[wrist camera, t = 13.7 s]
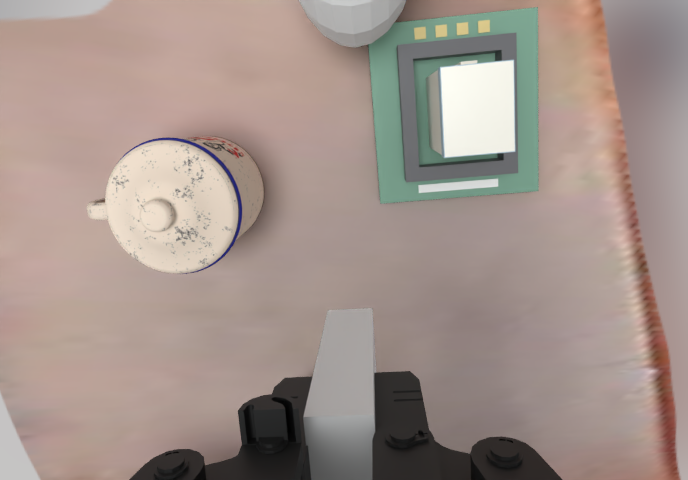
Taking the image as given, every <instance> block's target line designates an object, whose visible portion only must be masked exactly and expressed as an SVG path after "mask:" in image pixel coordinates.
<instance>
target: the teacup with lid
mask: <svg viewBox="0 0 688 480" xmlns="http://www.w3.org/2000/svg"><path fill="white" fill-rule="evenodd" d="M263 198H264V187H263V181H262V177H261V174H260V172H259V169H258V167H257V165H256V164H255V162H254V161H253V159H252V158H251V157H250V156H249V154H248V153H247V152H246V151H244V150H243V149H242V148H241V147H239V146H238V145H236V144H235V143H233V142H231V141H229V140H226V139H223V138H219V137H213V136H201V137H194V138H187V139H178V138H158V139H153V140H149V141H146V142H144V143H141V144H139V145H138V146H136V147H134V148H133V149H131V150H130V151H129V152H127V153H126V154H125V155H124V156H123V157H122V158H121V159H120V161H119V162H118V163H117V165H116V166H115V168H114V170H113V171H112V173H111V175H110V178H109V181H108V184H107V188H106V194H105V198H103V199H99V200H95V201H92V202H90V203H89V204H88V205H87V212H88V216H89V217H90V218H91V219H94V220H108V222H109V225H110V228H111V230H112V232H113V234H114V236H115V238H116V239H117V241H118V242H119V244H120V245H121V246H122V247H123V248H124V250H125V251H126V252H127V253H128V254H129V255H131V256H132V257H133V258H134V259H136V260H137V261H138V262H140V263H142V264H143V265H145V266H147V267H149V268H152V269H154V270H157V271H161V272H165V273H173V274H187V273H193V272H198V271H201V270H203V269H206V268H208V267H210V266H212V265H213V264H215V263H216V262H218V261H219V260H220V259H221V258H223V257H224V256H225V255H226V253H227V252H228V251H229V250H230V249H231V247H232V246H233V244H234V242H235V241H236V240H237V239H238V238H239V237H240V236H241V235H242V234H243V233H245V232H246V231H247V230H248V229H249V228H250V227H251V226H252V225H253V223H254V222H255V221H256V219H257V217H258V215H259V213H260V211H261V208H262V204H263Z"/></svg>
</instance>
